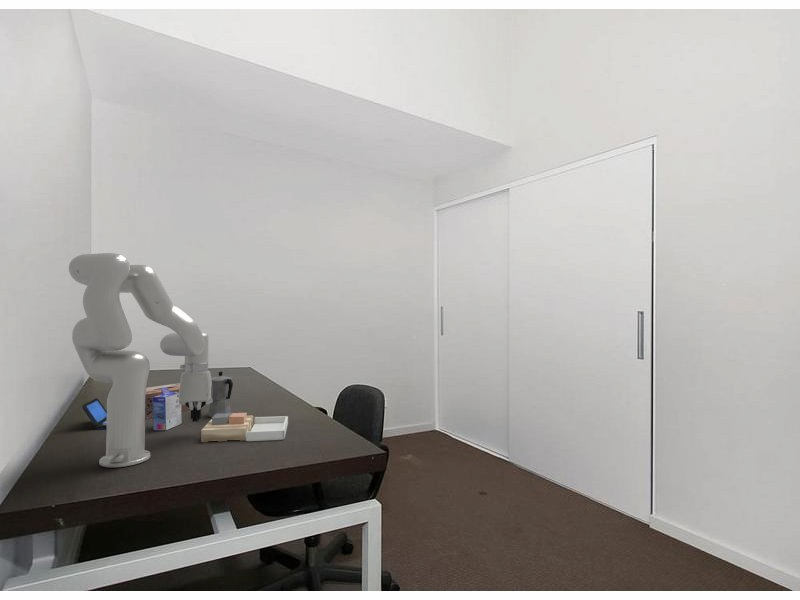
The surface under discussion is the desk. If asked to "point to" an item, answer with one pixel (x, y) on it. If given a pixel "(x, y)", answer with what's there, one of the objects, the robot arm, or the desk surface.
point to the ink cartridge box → (166, 410)
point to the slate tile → (221, 419)
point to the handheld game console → (96, 413)
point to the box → (268, 428)
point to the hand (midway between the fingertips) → (195, 420)
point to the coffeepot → (220, 395)
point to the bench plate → (226, 431)
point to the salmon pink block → (237, 418)
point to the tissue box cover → (157, 391)
